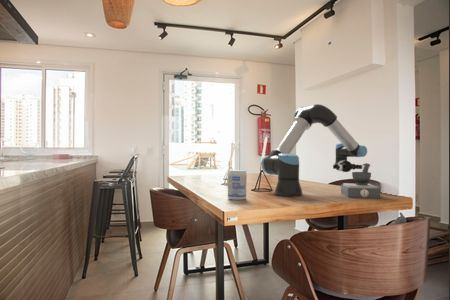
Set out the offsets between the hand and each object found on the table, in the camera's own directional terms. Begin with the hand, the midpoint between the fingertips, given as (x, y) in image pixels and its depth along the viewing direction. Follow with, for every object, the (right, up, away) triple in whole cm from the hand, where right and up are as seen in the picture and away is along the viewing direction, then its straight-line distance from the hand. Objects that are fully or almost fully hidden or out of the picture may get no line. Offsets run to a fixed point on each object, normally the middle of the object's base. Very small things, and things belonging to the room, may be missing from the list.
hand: (353, 167), depth 168 cm
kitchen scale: (-2, -15, -11) cm, 19 cm away
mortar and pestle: (0, -9, -11) cm, 14 cm away
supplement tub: (-71, -15, -23) cm, 76 cm away
